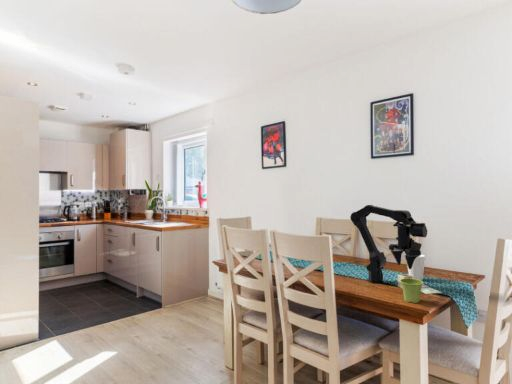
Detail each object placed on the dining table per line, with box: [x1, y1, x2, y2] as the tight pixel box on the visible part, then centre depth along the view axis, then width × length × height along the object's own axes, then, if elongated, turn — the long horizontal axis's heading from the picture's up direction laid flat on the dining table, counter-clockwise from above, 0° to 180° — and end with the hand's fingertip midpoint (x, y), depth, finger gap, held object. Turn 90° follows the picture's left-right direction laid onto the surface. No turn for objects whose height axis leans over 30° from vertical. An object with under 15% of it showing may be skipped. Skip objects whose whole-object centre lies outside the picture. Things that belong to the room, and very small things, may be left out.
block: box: [397, 273, 413, 290], centre depth 165 cm, size 5×5×6 cm
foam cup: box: [406, 253, 426, 281], centre depth 179 cm, size 10×9×13 cm
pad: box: [421, 287, 443, 295], centre depth 158 cm, size 8×8×1 cm
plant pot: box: [400, 278, 424, 304], centre depth 145 cm, size 9×9×9 cm
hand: (404, 266), depth 165 cm, fingers open, 9 cm apart
